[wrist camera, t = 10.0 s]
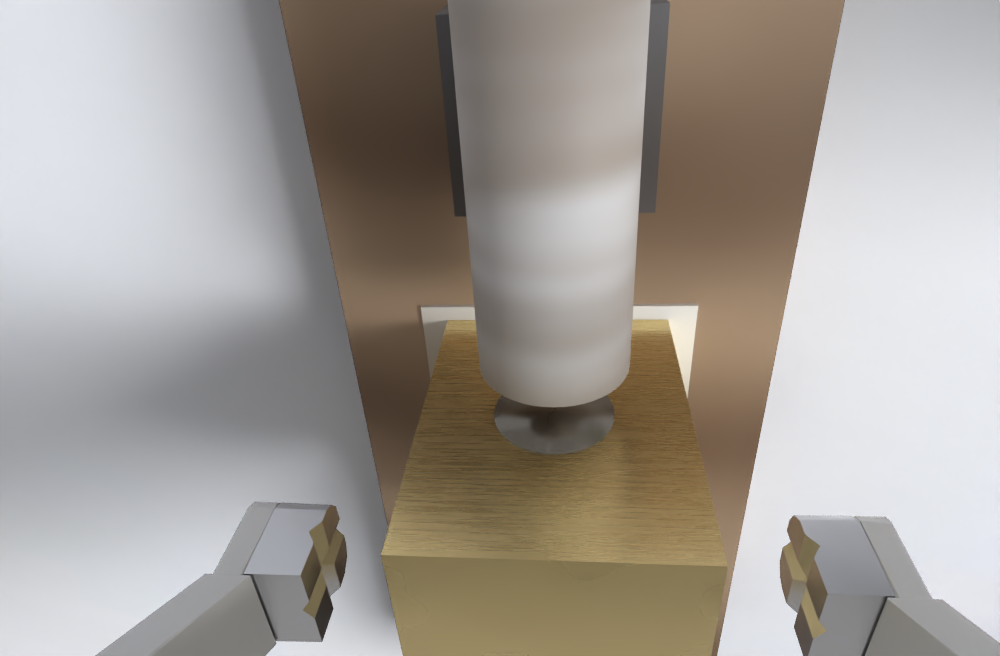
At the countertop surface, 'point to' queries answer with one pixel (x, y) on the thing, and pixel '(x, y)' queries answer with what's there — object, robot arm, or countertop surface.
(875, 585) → the robot arm
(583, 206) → the shaft mount
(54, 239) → the countertop surface
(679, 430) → the block
